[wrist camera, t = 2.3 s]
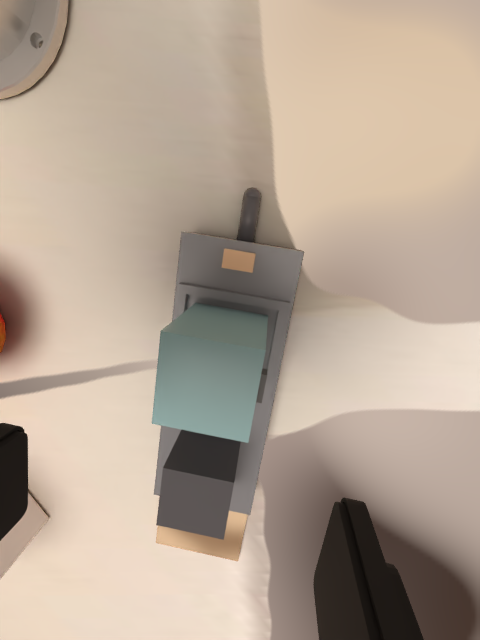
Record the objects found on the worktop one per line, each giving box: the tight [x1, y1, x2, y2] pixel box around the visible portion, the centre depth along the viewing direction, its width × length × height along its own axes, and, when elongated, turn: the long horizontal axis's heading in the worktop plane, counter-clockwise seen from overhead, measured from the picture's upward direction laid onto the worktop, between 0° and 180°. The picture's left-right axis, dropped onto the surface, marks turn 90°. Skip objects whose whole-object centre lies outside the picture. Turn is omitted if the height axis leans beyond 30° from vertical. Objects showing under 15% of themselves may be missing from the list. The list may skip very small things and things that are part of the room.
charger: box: [152, 303, 268, 443], centre depth 19 cm, size 5×5×7 cm
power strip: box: [154, 188, 304, 540], centre depth 22 cm, size 25×8×8 cm, turn 171°
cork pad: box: [156, 511, 247, 561], centre depth 30 cm, size 6×8×1 cm
